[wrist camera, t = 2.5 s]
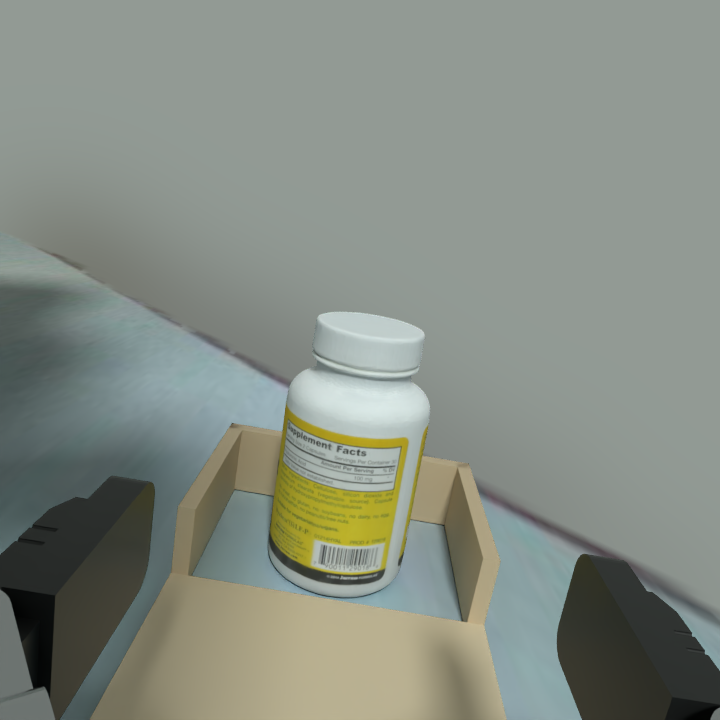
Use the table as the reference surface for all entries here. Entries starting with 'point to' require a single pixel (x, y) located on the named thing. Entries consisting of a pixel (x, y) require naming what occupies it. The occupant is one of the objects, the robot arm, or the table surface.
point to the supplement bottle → (350, 457)
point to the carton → (309, 622)
